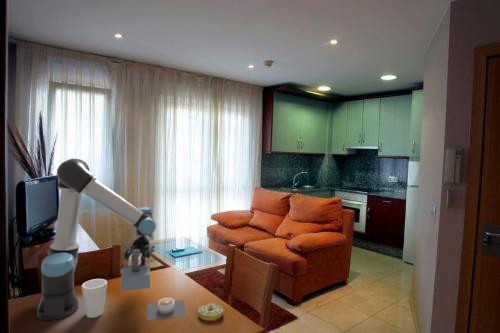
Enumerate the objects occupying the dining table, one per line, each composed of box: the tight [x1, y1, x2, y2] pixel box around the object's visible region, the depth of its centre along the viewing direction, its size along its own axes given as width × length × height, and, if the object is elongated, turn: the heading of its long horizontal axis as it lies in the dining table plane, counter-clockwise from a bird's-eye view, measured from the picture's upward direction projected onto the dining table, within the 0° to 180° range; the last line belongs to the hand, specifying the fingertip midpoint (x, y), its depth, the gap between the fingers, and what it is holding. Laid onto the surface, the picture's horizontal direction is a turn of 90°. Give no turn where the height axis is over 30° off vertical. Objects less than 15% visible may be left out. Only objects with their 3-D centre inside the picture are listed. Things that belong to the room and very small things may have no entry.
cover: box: [120, 249, 151, 292], centre depth 131 cm, size 11×11×15 cm
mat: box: [146, 299, 187, 322], centre depth 135 cm, size 16×14×1 cm
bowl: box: [157, 297, 176, 314], centre depth 135 cm, size 7×7×4 cm
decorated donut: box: [197, 302, 224, 322], centre depth 131 cm, size 10×11×4 cm
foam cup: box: [81, 278, 108, 319], centre depth 130 cm, size 10×9×13 cm
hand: (134, 262), depth 125 cm, fingers closed on cover, 3 cm apart
